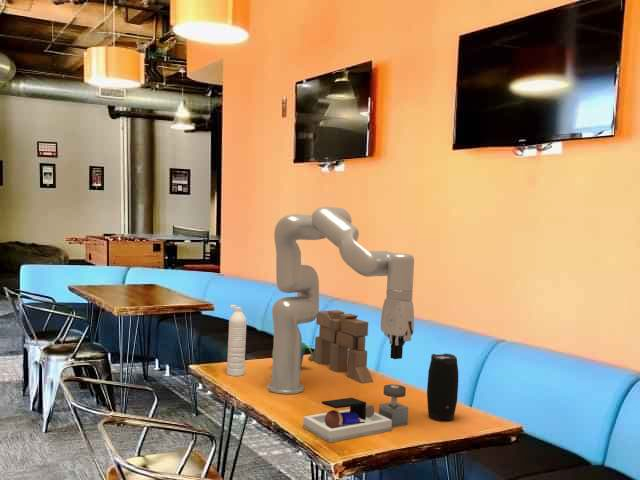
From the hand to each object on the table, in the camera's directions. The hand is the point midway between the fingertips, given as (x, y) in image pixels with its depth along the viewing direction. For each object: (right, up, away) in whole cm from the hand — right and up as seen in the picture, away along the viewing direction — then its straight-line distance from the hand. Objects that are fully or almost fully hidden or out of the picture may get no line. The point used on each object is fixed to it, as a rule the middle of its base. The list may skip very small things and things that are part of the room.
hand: (396, 358), depth 175 cm
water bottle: (-54, -15, +48) cm, 74 cm away
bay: (-15, -19, -7) cm, 25 cm away
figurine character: (-15, -18, -6) cm, 24 cm away
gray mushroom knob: (-1, -16, +1) cm, 16 cm away
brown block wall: (-15, -17, +61) cm, 65 cm away
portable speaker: (+15, -20, +7) cm, 26 cm away
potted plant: (-33, -16, +58) cm, 69 cm away
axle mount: (-1, -19, +1) cm, 19 cm away
